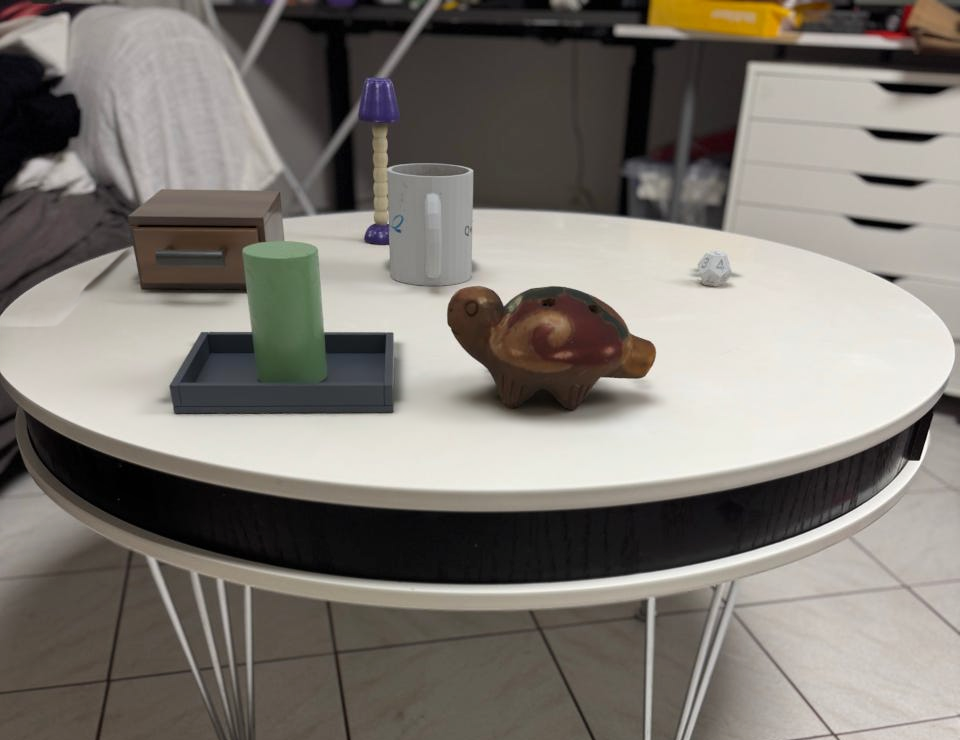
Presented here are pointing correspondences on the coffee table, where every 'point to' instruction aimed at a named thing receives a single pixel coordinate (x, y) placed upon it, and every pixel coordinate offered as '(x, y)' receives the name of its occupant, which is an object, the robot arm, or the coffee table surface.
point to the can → (285, 311)
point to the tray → (236, 389)
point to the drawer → (193, 253)
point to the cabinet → (210, 219)
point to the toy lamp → (379, 148)
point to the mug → (430, 223)
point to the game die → (714, 268)
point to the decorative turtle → (547, 342)
